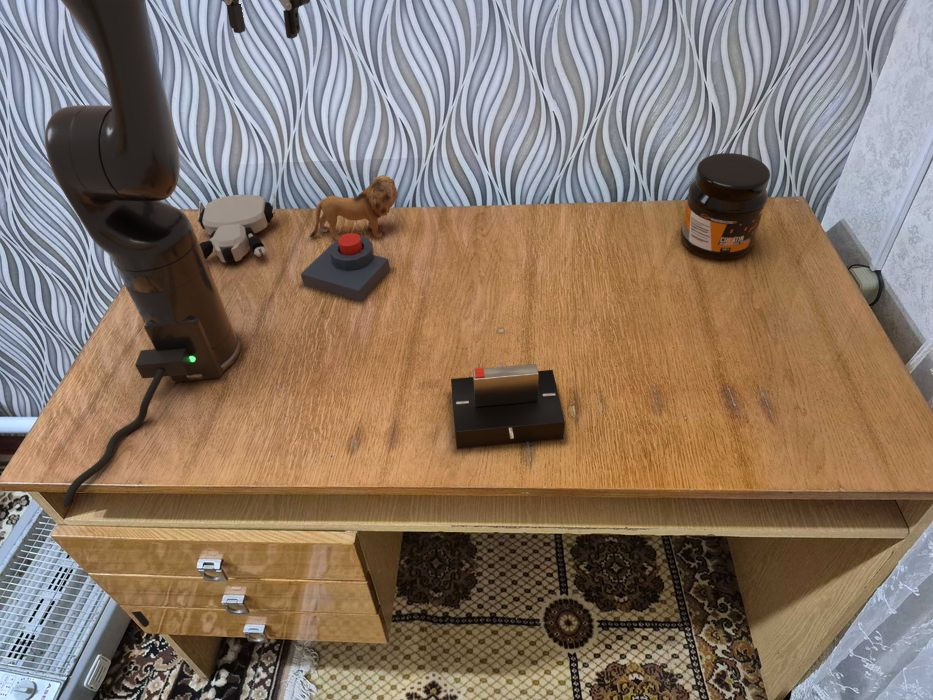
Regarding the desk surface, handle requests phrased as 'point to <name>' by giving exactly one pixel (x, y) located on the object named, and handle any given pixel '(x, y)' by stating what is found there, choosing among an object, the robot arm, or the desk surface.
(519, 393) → the knob
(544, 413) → the panel
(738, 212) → the supplement container
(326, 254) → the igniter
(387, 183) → the lion figurine
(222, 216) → the robot toy
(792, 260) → the desk surface
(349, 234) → the button
